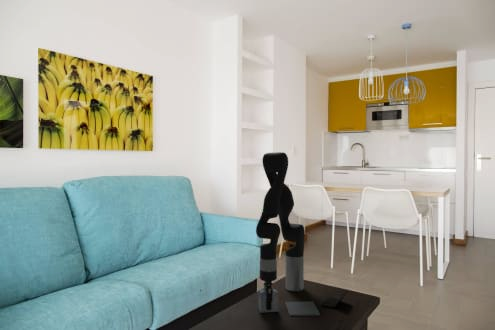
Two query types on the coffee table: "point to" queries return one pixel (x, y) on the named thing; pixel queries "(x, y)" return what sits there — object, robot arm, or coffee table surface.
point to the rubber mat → (302, 309)
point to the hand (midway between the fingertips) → (268, 306)
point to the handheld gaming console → (332, 302)
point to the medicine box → (263, 301)
